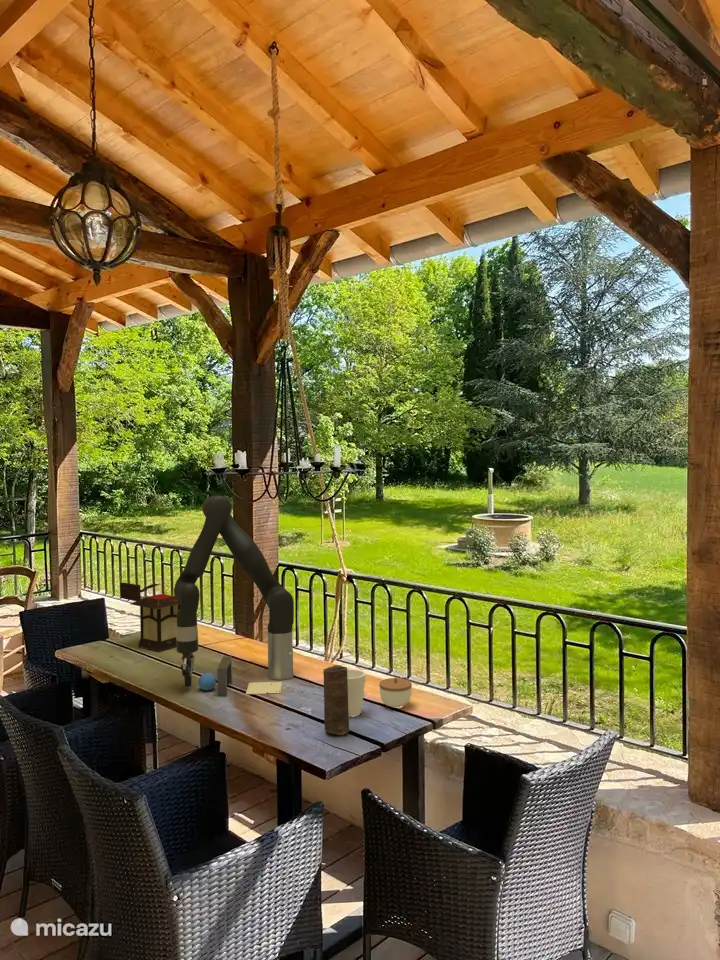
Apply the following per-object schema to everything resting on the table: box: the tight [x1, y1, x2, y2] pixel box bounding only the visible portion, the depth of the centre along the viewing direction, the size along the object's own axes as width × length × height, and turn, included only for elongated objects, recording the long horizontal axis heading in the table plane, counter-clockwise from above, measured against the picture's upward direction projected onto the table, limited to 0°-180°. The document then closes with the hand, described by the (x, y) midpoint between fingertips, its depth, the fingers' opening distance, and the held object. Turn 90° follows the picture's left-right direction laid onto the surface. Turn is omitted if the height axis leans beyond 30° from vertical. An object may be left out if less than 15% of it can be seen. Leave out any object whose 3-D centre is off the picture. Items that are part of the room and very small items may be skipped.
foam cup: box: [347, 668, 366, 715], centre depth 228 cm, size 10×9×13 cm
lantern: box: [119, 582, 181, 653], centre depth 306 cm, size 18×26×30 cm
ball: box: [198, 672, 217, 691], centre depth 252 cm, size 6×6×6 cm
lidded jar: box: [378, 677, 413, 707], centre depth 234 cm, size 11×11×9 cm
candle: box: [323, 664, 350, 736], centre depth 212 cm, size 8×7×20 cm
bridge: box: [216, 655, 233, 697], centre depth 252 cm, size 3×15×10 cm, turn 3°
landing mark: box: [245, 681, 283, 695], centre depth 253 cm, size 12×12×1 cm
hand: (188, 686), depth 252 cm, fingers closed
